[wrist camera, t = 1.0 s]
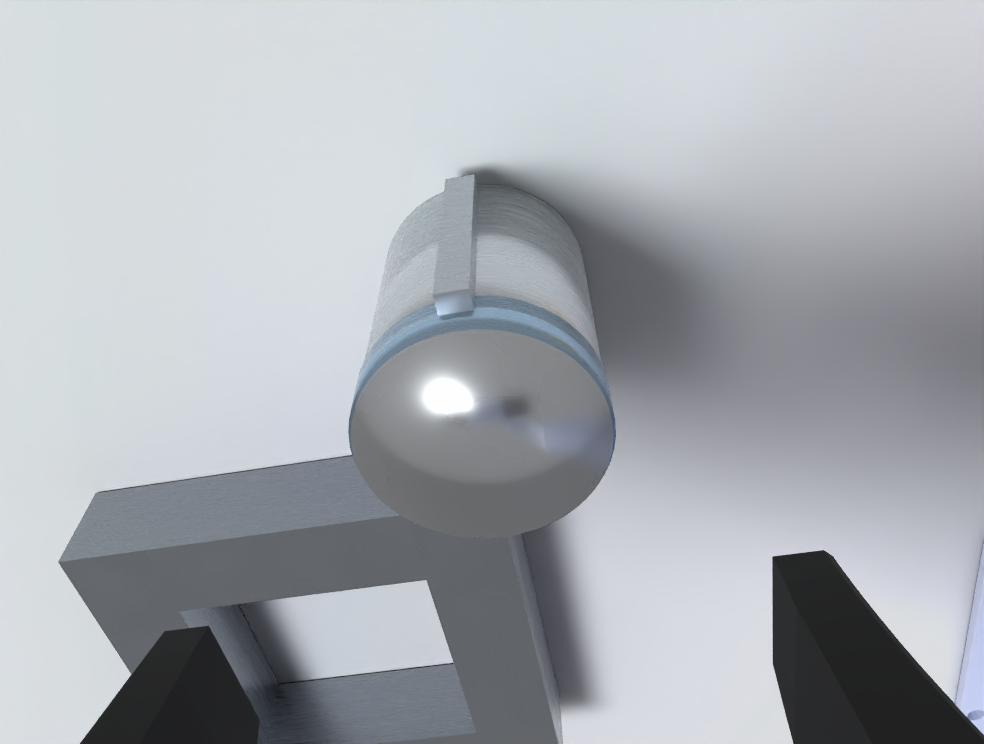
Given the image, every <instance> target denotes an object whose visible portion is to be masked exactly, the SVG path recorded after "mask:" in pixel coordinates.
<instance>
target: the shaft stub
mask: <svg viewBox="0 0 984 744" xmlns="http://www.w3.org/2000/svg"><path fill="white" fill-rule="evenodd" d="M615 437H616V430H615V418H614V413H613V407H612V402H611V396H610V391H609V386H608V381H607V377H606V373H605V370H604V368H603V365H602V362H601V357H600V351H599V346H598V340H597V335H596V329H595V324H594V318H593V312H592V307H591V301H590V296H589V290H588V285H587V279H586V273H585V268H584V262H583V258H582V253H581V249H580V246H579V244H578V241H577V239H576V237H575V235H574V233H573V231H572V230H571V228H570V227H569V225H568V224H567V223H566V221H565V220H564V219H563V218H562V217H561V216H560V215H559V214H558V213H557V212H556V211H555V210H554V209H553V208H552V207H550V206H549V205H548V204H547V203H545V202H544V201H542V200H540V199H539V198H537V197H535V196H533V195H531V194H529V193H526V192H524V191H522V190H519V189H515V188H511V187H508V186H501V185H494V184H476V180H475V175H474V174H473V175H467V176H462V177H456V178H450V179H446V181H445V190H444V192H442V193H440V194H438V195H436V196H434V197H432V198H430V199H428V200H427V201H425V202H424V203H423V204H421V205H420V206H419V207H417V208H416V209H415V210H414V211H413V212H412V213H411V214H410V215H409V216H408V217H407V218H406V219H405V221H404V222H403V223H402V224H401V226H400V227H399V229H398V231H397V232H396V234H395V236H394V238H393V240H392V243H391V245H390V248H389V252H388V256H387V261H386V265H385V270H384V274H383V279H382V284H381V288H380V293H379V298H378V302H377V307H376V312H375V316H374V321H373V325H372V330H371V335H370V339H369V344H368V349H367V353H366V358H365V360H364V363H363V365H362V368H361V370H360V373H359V378H358V382H357V386H356V391H355V395H354V400H353V404H352V409H351V413H350V418H349V442H350V448H351V452H352V456H353V459H354V461H355V464H356V466H357V468H358V470H359V472H360V474H361V476H362V477H363V479H364V480H365V482H366V483H367V485H368V487H369V488H370V489H371V490H372V491H373V492H374V494H375V495H376V496H377V497H378V498H379V499H380V500H381V501H382V502H383V503H384V504H386V505H387V506H388V507H389V508H390V509H392V510H393V511H395V512H396V513H398V514H399V515H400V516H402V517H404V518H406V519H408V520H409V521H411V522H413V523H415V524H418V525H420V526H422V527H425V528H427V529H430V530H433V531H437V532H440V533H444V534H448V535H453V536H459V537H468V538H497V537H507V536H513V535H518V534H522V533H526V532H529V531H533V530H536V529H539V528H541V527H544V526H546V525H549V524H551V523H553V522H554V521H556V520H558V519H560V518H562V517H564V516H565V515H567V514H568V513H570V512H571V511H572V510H574V509H575V508H576V507H578V506H579V505H580V504H581V503H582V502H583V501H584V500H586V498H587V497H588V496H589V495H590V494H591V493H592V492H593V490H594V489H595V488H596V486H597V485H598V484H599V482H600V480H601V479H602V477H603V476H604V474H605V472H606V470H607V468H608V466H609V464H610V461H611V458H612V454H613V451H614V446H615Z"/></svg>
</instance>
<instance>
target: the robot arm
mask: <svg viewBox="0 0 984 744" xmlns="http://www.w3.org/2000/svg"><path fill="white" fill-rule="evenodd" d="M773 666H774V670H775V674H776V678H777V682H778V685H779V689H780V693H781V697H782V701H783V705H784V709H785V713H786V717H787V721H788V724H789V728H790V732H791V736H792V739H793V743H794V744H984V543H983V549H982V554H981V560H980V566H979V572H978V577H977V583H976V589H975V595H974V600H973V606H972V612H971V617H970V623H969V629H968V635H967V640H966V646H965V652H964V658H963V663H962V669H961V675H960V681H959V686H958V692H957V698H956V703H955V704H954V703H953V701H952V700H951V699H950V698H949V697H948V696H947V695H946V694H945V693H944V692H943V690H942V689H941V688H940V687H939V686H938V685H937V684H936V683H935V682H934V680H933V679H932V678H931V677H930V676H929V675H928V674H927V673H926V672H925V671H924V669H923V668H922V667H921V666H920V665H919V664H918V663H917V662H916V660H915V659H914V658H913V657H912V656H911V655H910V653H909V652H908V651H907V650H906V649H905V648H904V647H903V645H902V644H901V643H900V642H899V641H898V639H897V638H896V637H895V636H894V635H893V633H892V632H891V631H890V630H889V629H888V627H887V626H886V625H885V624H884V622H883V621H882V620H881V619H880V618H879V616H878V615H877V614H876V613H875V611H874V610H873V609H872V608H871V606H870V605H869V604H868V603H867V601H866V600H865V599H864V598H863V596H862V595H861V594H860V592H859V591H858V590H857V589H856V587H855V586H854V585H853V583H852V582H851V581H850V579H849V578H848V577H847V575H846V574H845V573H844V571H843V570H842V569H841V567H840V566H839V564H838V563H837V562H836V560H835V559H834V557H833V556H832V555H830V554H829V553H827V552H826V551H824V550H823V551H815V552H806V553H798V554H790V555H782V556H774V557H773ZM259 724H260V719H259V717H258V716H257V714H256V712H255V710H254V708H253V706H252V704H251V703H250V701H249V699H248V697H247V695H246V693H245V692H244V690H243V688H242V686H241V684H240V682H239V680H238V679H237V677H236V675H235V673H234V671H233V669H232V667H231V666H230V664H229V662H228V660H227V658H226V656H225V655H224V653H223V651H222V649H221V647H220V645H219V643H218V642H217V640H216V638H215V636H214V634H213V632H212V631H211V629H210V627H209V626H202V627H194V628H186V629H178V630H169V631H164V633H163V634H162V635H161V637H160V638H159V639H158V640H157V642H156V643H155V644H154V646H153V647H152V648H151V650H150V651H149V652H148V654H147V655H146V656H145V657H144V659H143V660H142V661H141V663H140V664H139V665H138V667H137V668H136V669H135V671H134V672H133V673H132V675H131V676H130V677H129V679H128V680H127V681H126V683H125V684H124V685H123V687H122V688H121V689H120V691H119V692H118V694H117V695H116V696H115V698H114V699H113V700H112V702H111V703H110V704H109V706H108V707H107V708H106V710H105V711H104V712H103V714H102V715H101V716H100V718H99V719H98V720H97V722H96V723H95V724H94V726H93V727H92V728H91V730H90V731H89V732H88V734H87V735H86V736H85V738H84V739H83V740H82V741H81V743H80V744H257V742H258V733H259Z"/></svg>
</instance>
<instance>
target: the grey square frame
mask: <svg viewBox="0 0 984 744" xmlns="http://www.w3.org/2000/svg"><path fill="white" fill-rule="evenodd" d="M59 564H60V565H61V567H62V569H63V570H64V572H65V573H66V575H67V576H68V578H69V579H70V581H71V582H72V584H73V585H74V587H75V588H76V590H77V591H78V593H79V595H80V596H81V598H82V599H83V601H84V602H85V604H86V605H87V607H88V608H89V610H90V611H91V613H92V614H93V616H94V617H95V619H96V621H97V622H98V624H99V625H100V627H101V628H102V630H103V631H104V633H105V634H106V636H107V637H108V639H109V640H110V642H111V643H112V645H113V647H114V648H115V650H116V651H117V653H118V654H119V656H120V657H121V659H122V660H123V662H124V663H125V665H126V666H127V668H128V669H129V671H130V672H131V674H132V673H133V672H134V671H135V669H136V668H137V667H138V665H139V664H140V663H141V661H142V660H143V659H144V657H145V656H146V655H147V654H148V652H149V651H150V650H151V648H152V647H153V646H154V644H155V643H156V642H157V640H158V639H159V638H160V637H161V635H162V634H163V633H164V631H169V630H178V629H186V628H194V627H202V626H209V627H210V629H211V631H212V632H213V634H214V636H215V638H216V640H217V642H218V643H219V645H220V647H221V649H222V651H223V653H224V655H225V656H226V658H227V660H228V662H229V664H230V666H231V667H232V669H233V671H234V673H235V675H236V677H237V679H238V680H239V682H240V684H241V686H242V688H243V690H244V692H245V693H246V695H247V697H248V699H249V701H250V703H251V704H252V706H253V708H254V710H255V712H256V714H257V716H258V717H259V719H260V724H259V733H258V742H257V744H563V739H562V725H561V711H560V697H559V692H558V688H557V684H556V679H555V675H554V671H553V666H552V662H551V658H550V654H549V649H548V645H547V641H546V636H545V632H544V628H543V623H542V619H541V615H540V610H539V606H538V602H537V597H536V593H535V589H534V584H533V580H532V576H531V572H530V567H529V563H528V559H527V554H526V550H525V546H524V541H523V537H522V534H518V535H513V536H507V537H497V538H468V537H459V536H453V535H448V534H444V533H440V532H437V531H433V530H430V529H427V528H425V527H422V526H420V525H418V524H415V523H413V522H411V521H409V520H408V519H406V518H404V517H402V516H400V515H399V514H398V513H396V512H395V511H393V510H392V509H390V508H389V507H388V506H387V505H386V504H384V503H383V502H382V501H381V500H380V499H379V498H378V497H377V496H376V495H375V494H374V492H373V491H372V490H371V489H370V488H369V487H368V485H367V483H366V482H365V480H364V479H363V477H362V476H361V474H360V472H359V470H358V468H357V466H356V464H355V461H354V459H353V456H348V457H341V458H334V459H327V460H321V461H314V462H307V463H300V464H293V465H286V466H279V467H272V468H265V469H259V470H252V471H245V472H238V473H231V474H224V475H217V476H210V477H203V478H197V479H190V480H183V481H176V482H169V483H162V484H155V485H148V486H141V487H135V488H128V489H121V490H114V491H107V492H100V493H96V494H95V496H94V497H93V499H92V501H91V503H90V505H89V507H88V508H87V510H86V512H85V514H84V516H83V518H82V519H81V521H80V523H79V525H78V527H77V529H76V530H75V532H74V534H73V536H72V538H71V540H70V541H69V543H68V545H67V547H66V549H65V551H64V552H63V554H62V556H61V558H60V560H59ZM421 580H427V583H428V586H429V589H430V592H431V595H432V598H433V601H434V604H435V607H436V610H437V613H438V616H439V619H440V622H441V625H442V628H443V631H444V634H445V638H446V641H447V644H448V647H449V650H450V653H451V656H452V659H453V662H454V664H449V665H440V666H432V667H423V668H415V669H406V670H398V671H389V672H381V673H373V674H364V675H356V676H347V677H339V678H330V679H322V680H313V681H305V682H296V683H288V684H280V685H279V684H278V682H277V680H276V678H275V676H274V674H273V672H272V670H271V668H270V666H269V664H268V662H267V660H266V658H265V656H264V654H263V652H262V650H261V648H260V646H259V645H258V643H257V641H256V639H255V637H254V635H253V633H252V631H251V629H250V627H249V625H248V623H247V621H246V619H245V617H244V615H243V613H242V611H241V609H240V607H239V605H238V604H243V603H250V602H258V601H266V600H274V599H281V598H289V597H297V596H305V595H312V594H320V593H328V592H336V591H343V590H351V589H359V588H367V587H374V586H382V585H390V584H398V583H405V582H413V581H421Z"/></svg>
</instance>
